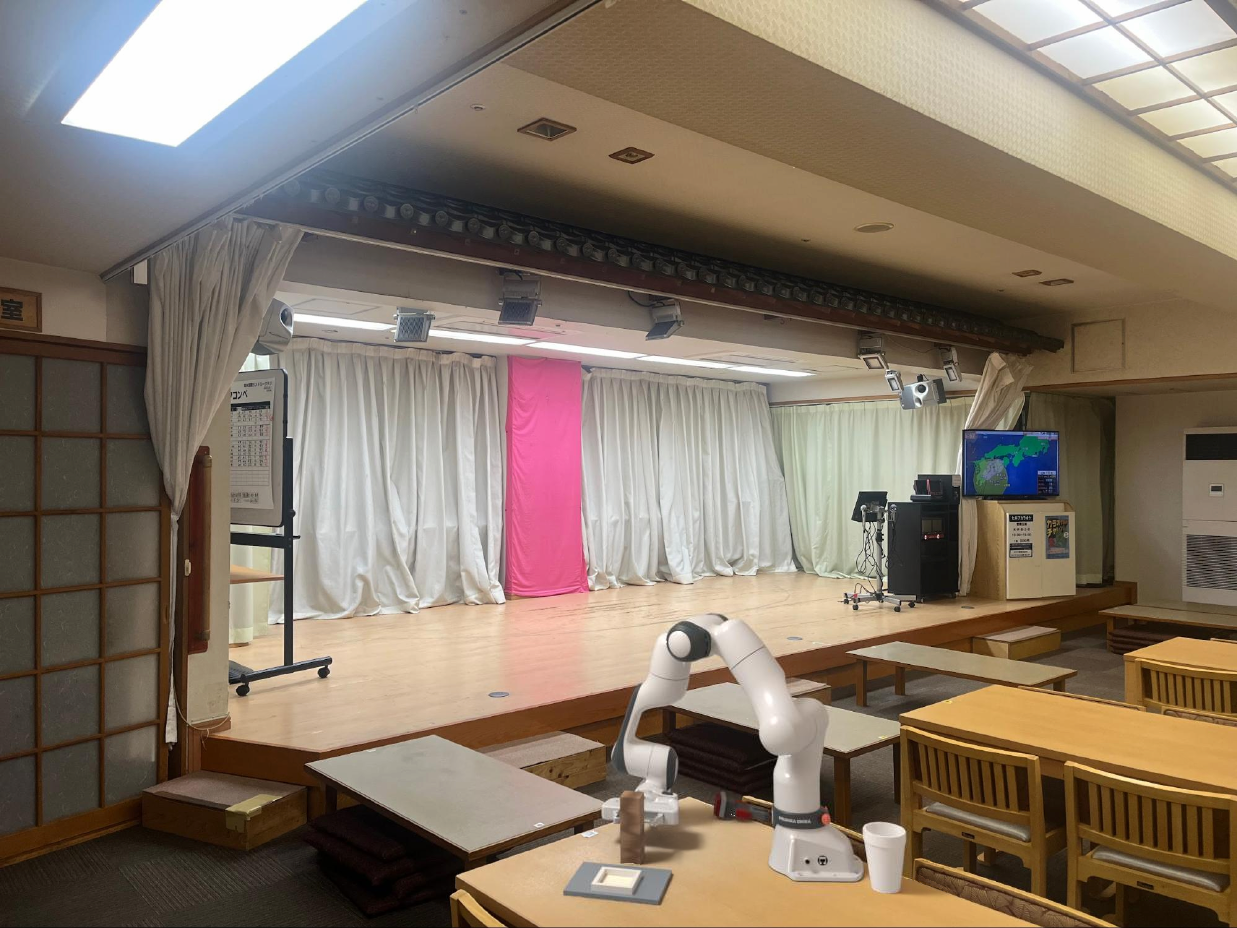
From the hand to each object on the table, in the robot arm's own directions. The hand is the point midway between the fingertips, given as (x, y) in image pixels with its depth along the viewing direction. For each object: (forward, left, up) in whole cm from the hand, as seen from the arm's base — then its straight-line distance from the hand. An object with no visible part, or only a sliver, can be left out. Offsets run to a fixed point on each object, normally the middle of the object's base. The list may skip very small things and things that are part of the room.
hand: (634, 822), depth 215 cm
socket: (0, +18, -8) cm, 20 cm away
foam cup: (-60, +4, -9) cm, 61 cm away
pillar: (0, +2, -9) cm, 9 cm away
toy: (-23, -33, -9) cm, 41 cm away
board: (0, +16, -8) cm, 18 cm away
